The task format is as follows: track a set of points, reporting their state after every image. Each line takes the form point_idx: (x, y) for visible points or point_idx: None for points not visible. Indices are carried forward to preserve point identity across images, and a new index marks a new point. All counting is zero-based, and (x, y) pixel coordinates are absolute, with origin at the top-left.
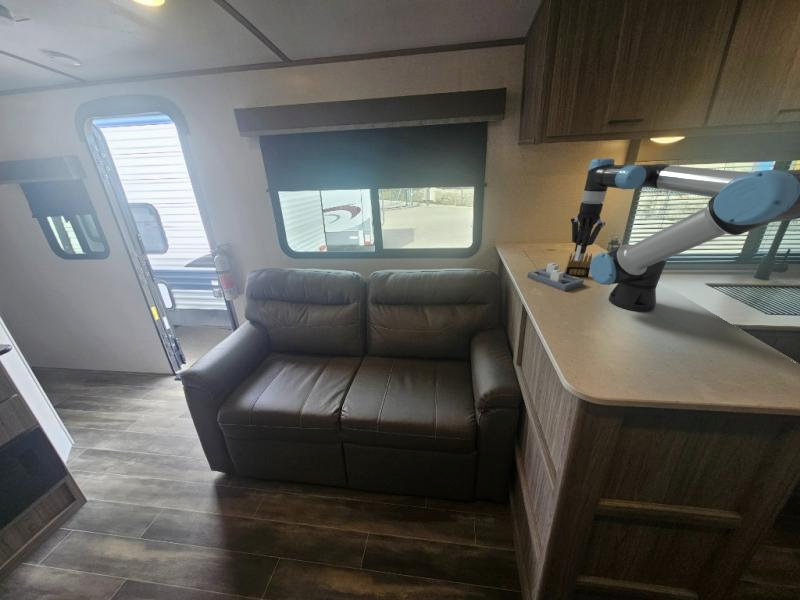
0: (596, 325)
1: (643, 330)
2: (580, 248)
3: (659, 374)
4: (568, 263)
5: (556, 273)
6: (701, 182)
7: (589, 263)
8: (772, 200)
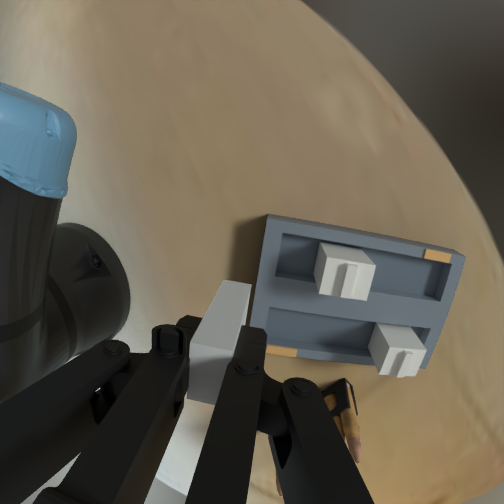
0: (77, 43)
1: None
2: (198, 328)
3: None
4: (350, 419)
5: (343, 258)
6: None
7: None
8: None
